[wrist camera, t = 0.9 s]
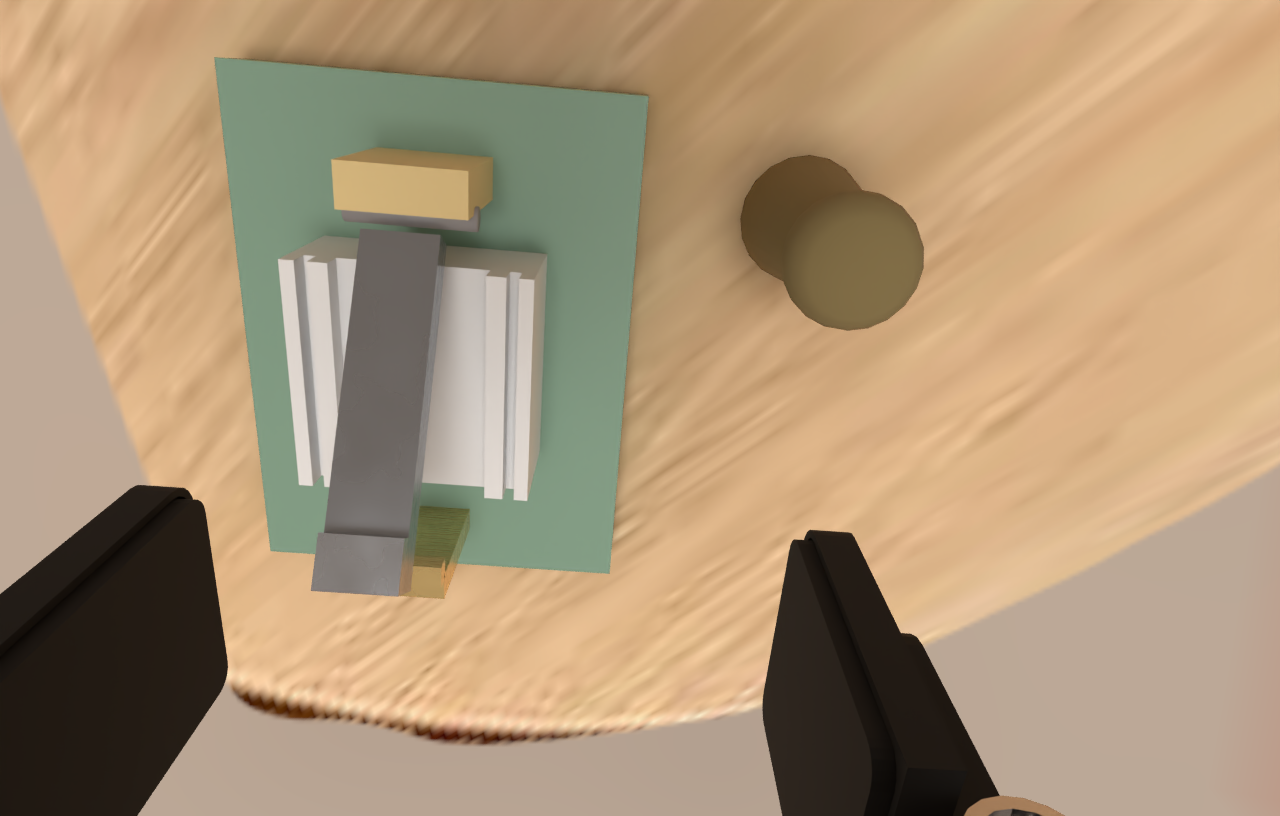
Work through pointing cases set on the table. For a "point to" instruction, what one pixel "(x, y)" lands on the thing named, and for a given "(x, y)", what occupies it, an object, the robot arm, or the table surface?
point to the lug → (437, 549)
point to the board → (531, 212)
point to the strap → (382, 416)
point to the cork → (832, 243)
